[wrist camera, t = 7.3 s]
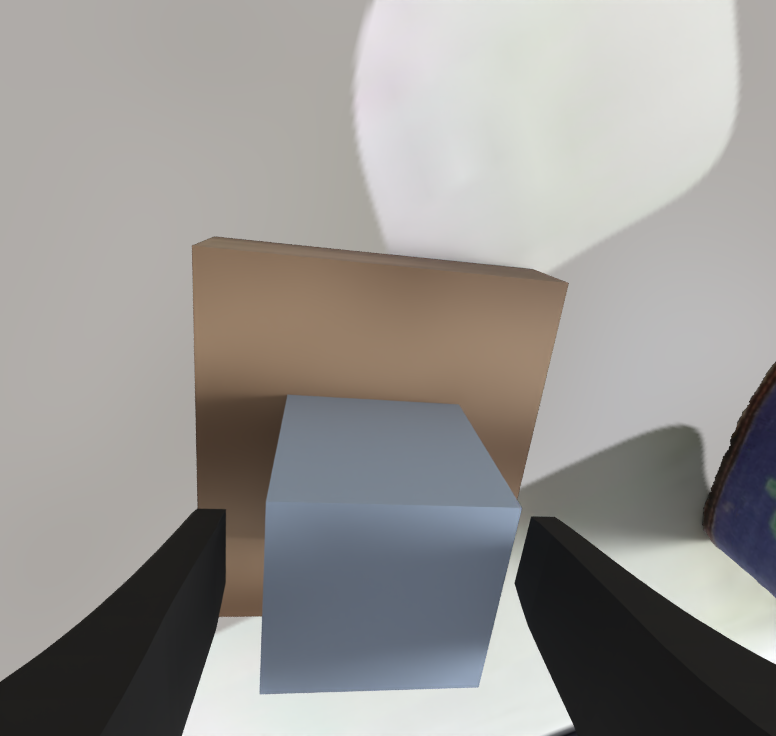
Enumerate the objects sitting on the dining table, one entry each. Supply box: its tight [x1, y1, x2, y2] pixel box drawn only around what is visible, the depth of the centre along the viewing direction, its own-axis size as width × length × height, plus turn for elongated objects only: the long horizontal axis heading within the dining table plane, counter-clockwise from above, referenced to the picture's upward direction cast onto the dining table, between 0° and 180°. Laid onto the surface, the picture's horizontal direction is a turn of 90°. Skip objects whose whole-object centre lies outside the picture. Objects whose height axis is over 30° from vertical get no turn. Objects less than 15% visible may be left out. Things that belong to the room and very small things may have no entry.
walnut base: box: [192, 237, 569, 617], centre depth 16 cm, size 12×10×2 cm
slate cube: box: [260, 395, 522, 694], centre depth 12 cm, size 5×5×5 cm
